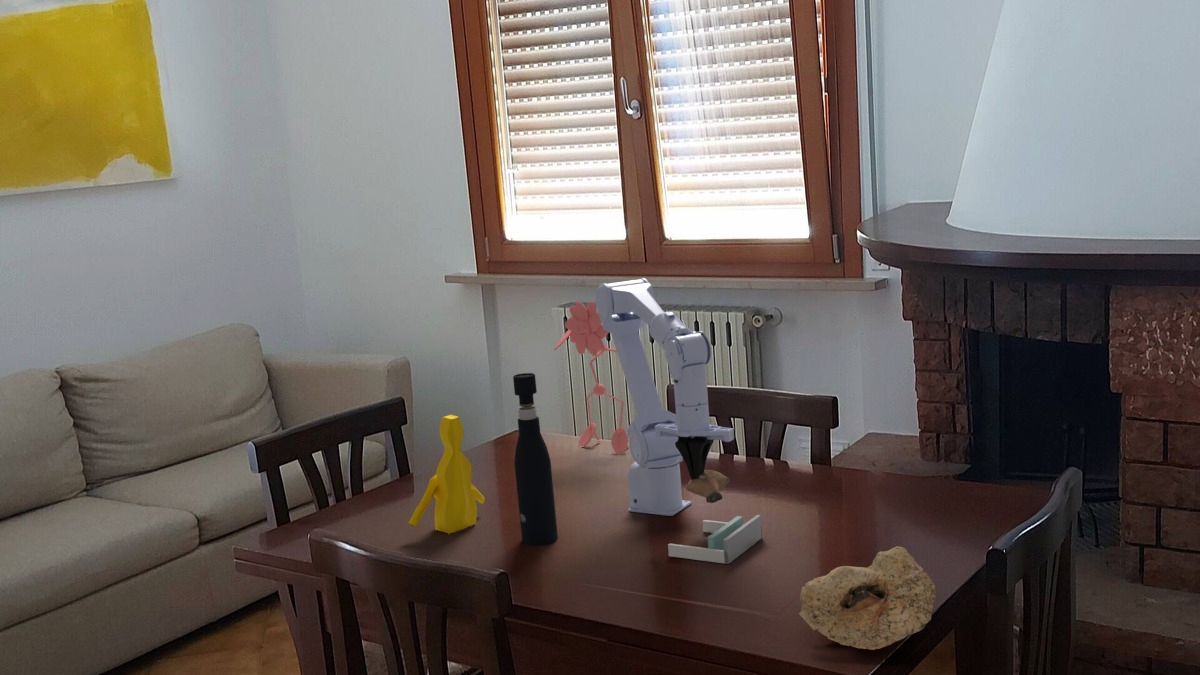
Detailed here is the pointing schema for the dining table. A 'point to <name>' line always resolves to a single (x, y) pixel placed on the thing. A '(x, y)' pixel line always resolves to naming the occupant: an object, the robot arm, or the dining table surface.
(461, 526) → the figure statuette
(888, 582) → the tan rock
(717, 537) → the panel
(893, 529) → the dining table surface
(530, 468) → the black water bottle
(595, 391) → the figurine
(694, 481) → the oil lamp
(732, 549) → the pusher lane
